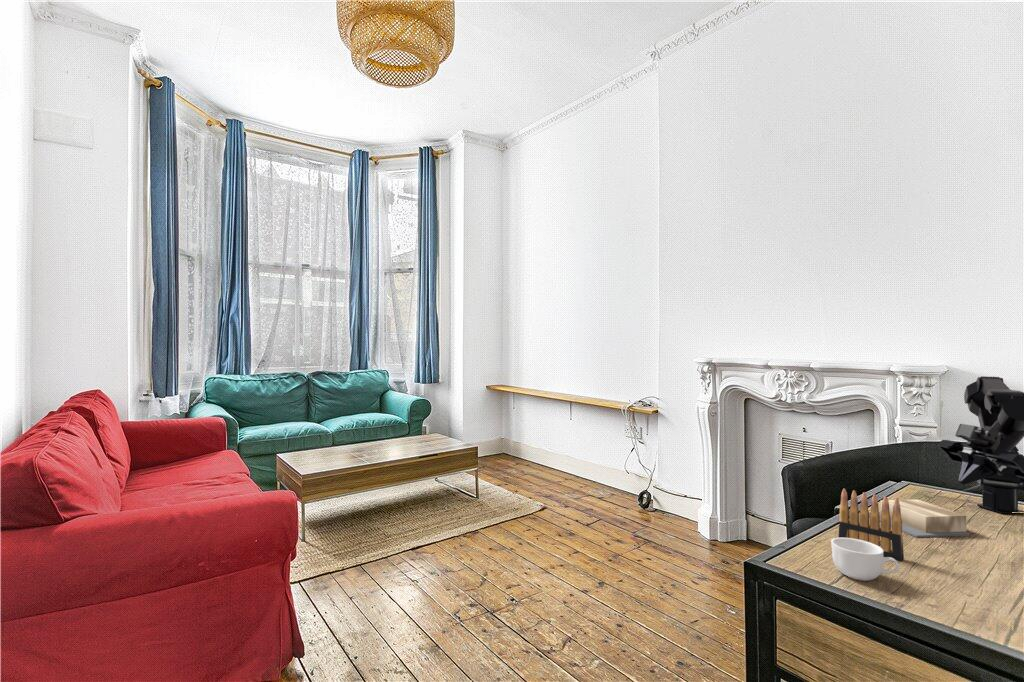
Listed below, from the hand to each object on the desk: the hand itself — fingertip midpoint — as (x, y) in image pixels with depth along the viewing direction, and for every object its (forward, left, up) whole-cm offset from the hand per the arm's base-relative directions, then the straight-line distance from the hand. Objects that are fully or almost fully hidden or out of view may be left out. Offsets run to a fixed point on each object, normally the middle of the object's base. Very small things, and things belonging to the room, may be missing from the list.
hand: (960, 483), depth 118 cm
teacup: (+46, +24, -10) cm, 53 cm away
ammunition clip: (+36, +14, -10) cm, 40 cm away
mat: (+13, 0, -9) cm, 16 cm away
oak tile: (+6, 0, -7) cm, 9 cm away
